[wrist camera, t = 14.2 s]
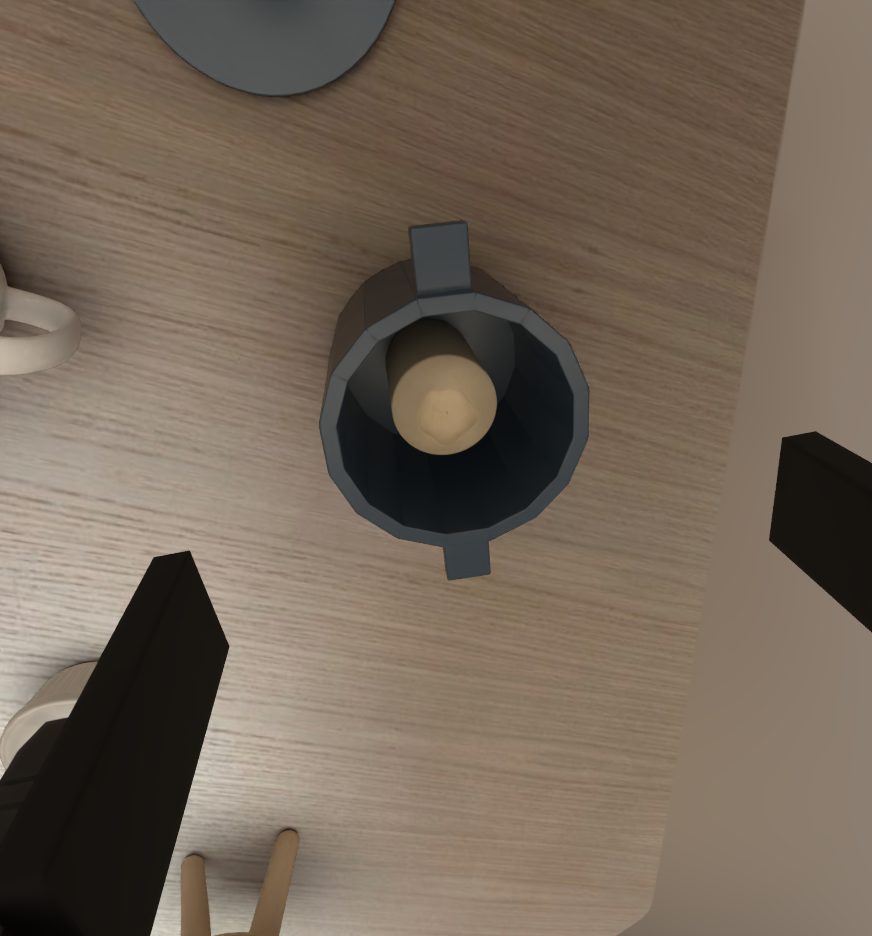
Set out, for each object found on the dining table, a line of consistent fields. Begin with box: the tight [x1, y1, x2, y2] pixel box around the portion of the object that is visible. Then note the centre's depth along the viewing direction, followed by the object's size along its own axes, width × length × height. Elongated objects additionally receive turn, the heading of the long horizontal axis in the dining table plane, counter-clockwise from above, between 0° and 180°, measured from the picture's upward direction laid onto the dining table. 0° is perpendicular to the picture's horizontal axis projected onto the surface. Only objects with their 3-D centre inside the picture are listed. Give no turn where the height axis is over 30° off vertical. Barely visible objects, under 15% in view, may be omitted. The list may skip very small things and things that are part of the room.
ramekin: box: [0, 661, 98, 770], centre depth 46 cm, size 11×11×5 cm
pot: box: [319, 220, 589, 580], centre depth 33 cm, size 13×18×12 cm
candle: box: [386, 319, 497, 455], centre depth 34 cm, size 6×6×10 cm
